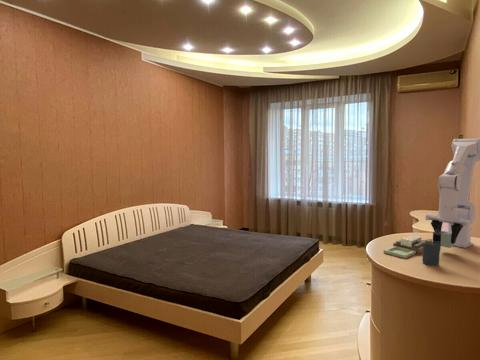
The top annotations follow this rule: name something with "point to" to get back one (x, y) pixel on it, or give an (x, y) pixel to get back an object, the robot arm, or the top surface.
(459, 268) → the top surface
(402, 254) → the chip tray
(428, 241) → the vaping device
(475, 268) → the top surface
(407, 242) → the chip
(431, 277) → the top surface
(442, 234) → the sage green cube
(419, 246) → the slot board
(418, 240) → the chip
